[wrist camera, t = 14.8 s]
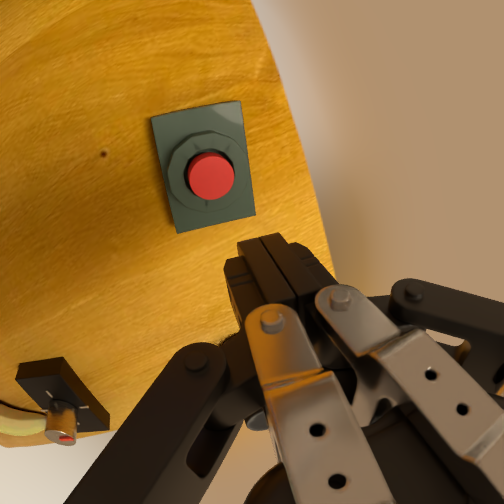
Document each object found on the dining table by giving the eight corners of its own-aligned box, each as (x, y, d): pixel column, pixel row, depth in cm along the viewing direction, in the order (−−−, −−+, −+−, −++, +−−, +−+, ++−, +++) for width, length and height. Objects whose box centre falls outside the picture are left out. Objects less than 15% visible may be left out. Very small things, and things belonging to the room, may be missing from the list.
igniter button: (183, 157, 21) (185, 161, 20) (226, 148, 22) (230, 152, 20) (192, 196, 23) (194, 204, 21) (232, 187, 23) (237, 194, 22)
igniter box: (152, 116, 22) (149, 119, 19) (234, 100, 23) (246, 100, 20) (176, 224, 27) (178, 243, 24) (249, 206, 28) (262, 223, 25)
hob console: (18, 363, 29) (12, 380, 27) (65, 356, 31) (60, 375, 28) (67, 418, 37) (66, 434, 34) (111, 414, 38) (111, 431, 35)
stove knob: (60, 417, 32) (57, 448, 27) (43, 401, 30) (38, 432, 25) (84, 415, 33) (82, 447, 28) (66, 398, 30) (62, 431, 26)
